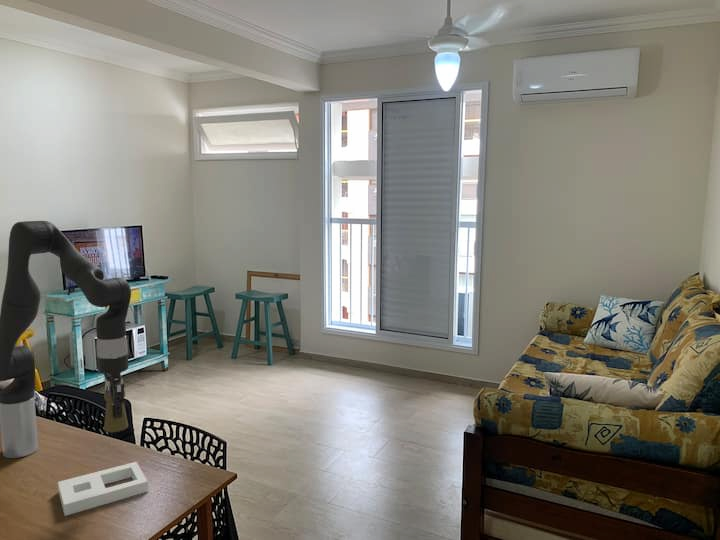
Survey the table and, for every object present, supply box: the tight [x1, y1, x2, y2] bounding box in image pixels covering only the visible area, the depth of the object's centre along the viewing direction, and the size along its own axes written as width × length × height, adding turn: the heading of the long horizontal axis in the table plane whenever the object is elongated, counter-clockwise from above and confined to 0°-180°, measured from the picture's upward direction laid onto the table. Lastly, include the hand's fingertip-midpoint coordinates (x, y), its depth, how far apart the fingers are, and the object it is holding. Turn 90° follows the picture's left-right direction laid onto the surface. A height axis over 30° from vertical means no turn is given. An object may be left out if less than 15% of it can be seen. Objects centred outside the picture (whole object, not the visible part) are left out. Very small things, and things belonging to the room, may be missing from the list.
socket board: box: [57, 461, 149, 516], centre depth 144 cm, size 13×20×3 cm, turn 125°
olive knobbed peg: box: [103, 389, 129, 433], centre depth 143 cm, size 6×6×11 cm
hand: (115, 414), depth 143 cm, fingers closed on olive knobbed peg, 4 cm apart
